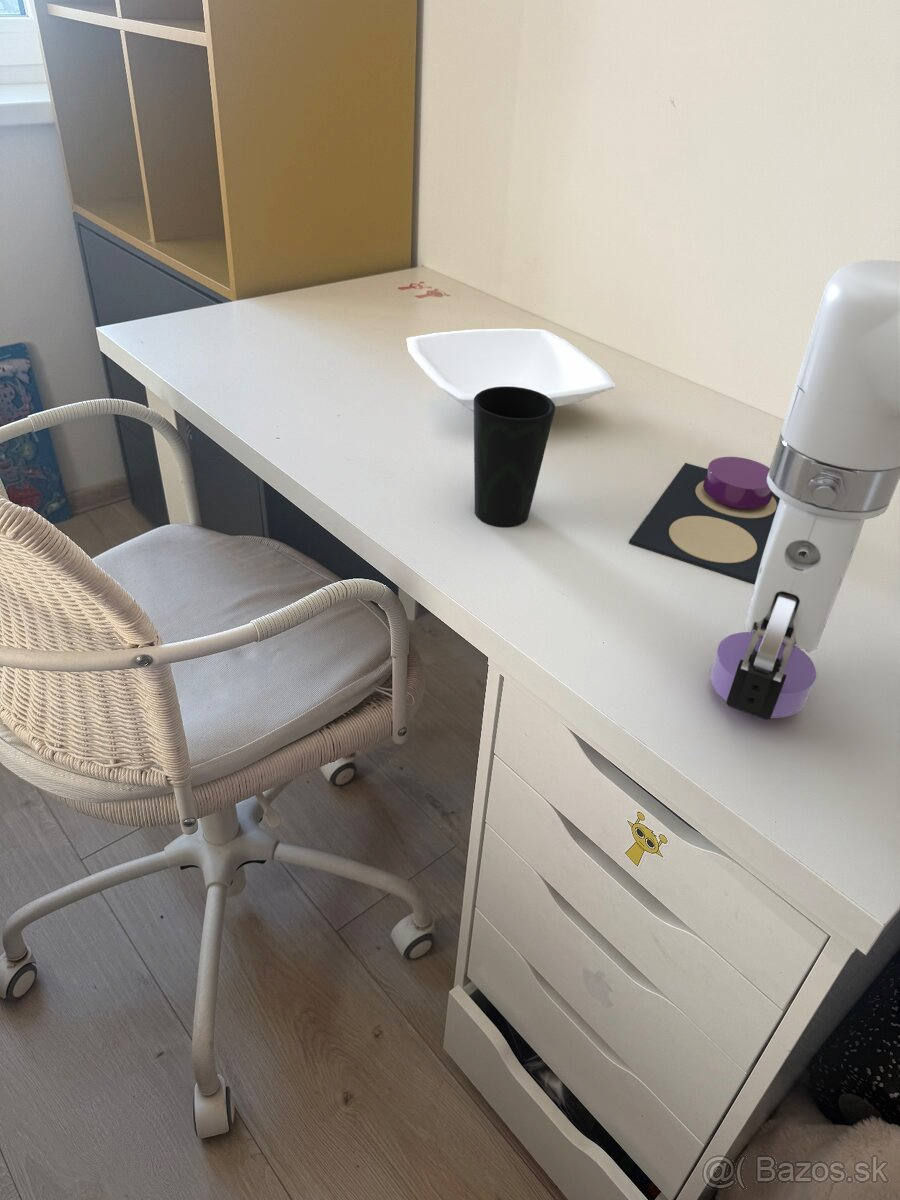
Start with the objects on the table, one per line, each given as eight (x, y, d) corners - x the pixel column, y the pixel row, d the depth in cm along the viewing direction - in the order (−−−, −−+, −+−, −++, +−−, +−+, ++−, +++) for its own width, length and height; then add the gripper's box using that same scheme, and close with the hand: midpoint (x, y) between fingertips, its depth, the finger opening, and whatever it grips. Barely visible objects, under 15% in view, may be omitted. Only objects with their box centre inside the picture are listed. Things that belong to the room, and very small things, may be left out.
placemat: (808, 500, 91) (809, 496, 91) (772, 590, 77) (774, 585, 76) (684, 465, 96) (685, 461, 96) (628, 543, 82) (629, 539, 81)
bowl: (542, 364, 119) (547, 324, 116) (622, 433, 102) (631, 389, 98) (392, 375, 112) (393, 333, 109) (452, 452, 95) (455, 405, 91)
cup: (541, 535, 82) (558, 422, 74) (464, 530, 81) (474, 416, 74) (536, 496, 88) (551, 388, 81) (464, 491, 88) (473, 383, 80)
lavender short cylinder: (811, 680, 65) (823, 651, 63) (795, 737, 60) (807, 706, 58) (720, 650, 68) (729, 621, 66) (697, 701, 63) (706, 671, 61)
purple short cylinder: (775, 492, 91) (783, 468, 89) (761, 521, 86) (770, 495, 84) (710, 474, 93) (717, 450, 92) (693, 500, 88) (700, 475, 86)
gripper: (882, 549, 45) (788, 772, 56) (907, 437, 58) (827, 635, 68) (744, 511, 48) (679, 730, 58) (796, 412, 61) (736, 606, 71)
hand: (759, 678), depth 63 cm, fingers closed on lavender short cylinder, 7 cm apart
